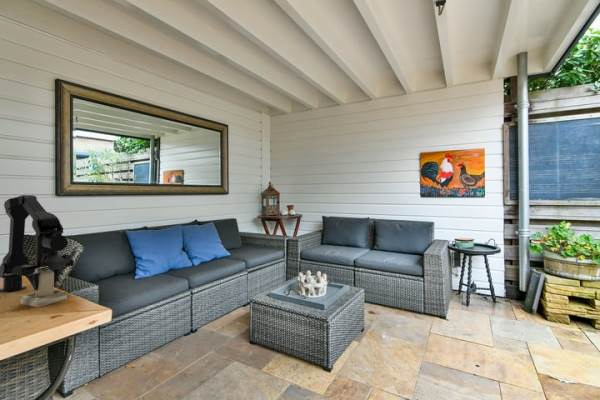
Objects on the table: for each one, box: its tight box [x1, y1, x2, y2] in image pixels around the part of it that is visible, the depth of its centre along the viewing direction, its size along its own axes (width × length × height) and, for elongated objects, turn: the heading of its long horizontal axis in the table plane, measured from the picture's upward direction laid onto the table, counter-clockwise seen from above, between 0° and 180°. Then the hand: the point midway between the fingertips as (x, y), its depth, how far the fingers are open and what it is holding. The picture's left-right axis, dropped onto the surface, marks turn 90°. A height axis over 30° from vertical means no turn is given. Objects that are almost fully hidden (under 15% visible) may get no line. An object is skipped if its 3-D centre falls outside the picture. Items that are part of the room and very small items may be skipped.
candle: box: [34, 268, 55, 297], centre depth 118 cm, size 6×6×10 cm
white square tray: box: [20, 289, 68, 308], centre depth 118 cm, size 10×10×3 cm
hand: (44, 288), depth 118 cm, fingers closed on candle, 5 cm apart
